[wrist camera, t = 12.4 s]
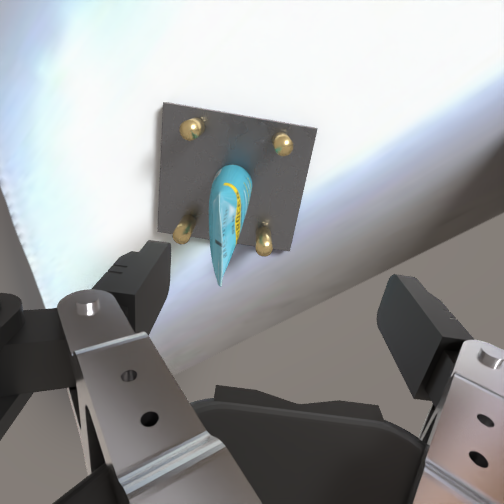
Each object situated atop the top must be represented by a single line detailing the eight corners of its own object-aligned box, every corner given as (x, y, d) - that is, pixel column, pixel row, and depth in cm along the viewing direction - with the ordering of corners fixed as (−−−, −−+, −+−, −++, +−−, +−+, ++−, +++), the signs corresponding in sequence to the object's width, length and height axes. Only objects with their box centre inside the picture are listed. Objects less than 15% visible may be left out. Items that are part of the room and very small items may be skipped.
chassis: (315, 127, 41) (325, 133, 35) (288, 246, 48) (293, 268, 42) (166, 102, 40) (151, 103, 34) (160, 227, 47) (146, 246, 41)
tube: (253, 210, 44) (252, 286, 26) (216, 212, 44) (191, 289, 27) (250, 151, 41) (246, 193, 23) (210, 153, 41) (176, 196, 24)
